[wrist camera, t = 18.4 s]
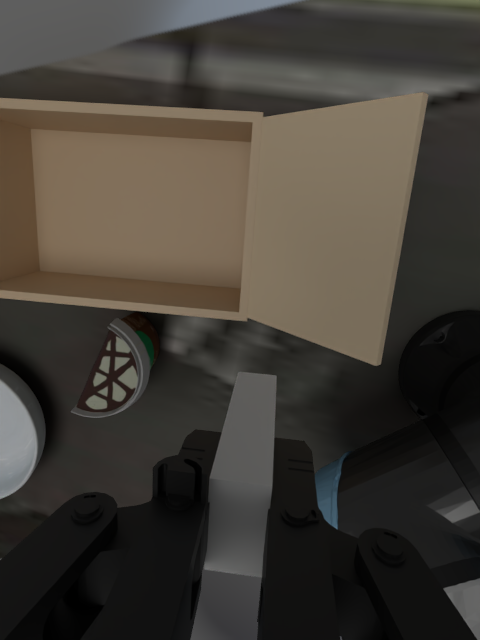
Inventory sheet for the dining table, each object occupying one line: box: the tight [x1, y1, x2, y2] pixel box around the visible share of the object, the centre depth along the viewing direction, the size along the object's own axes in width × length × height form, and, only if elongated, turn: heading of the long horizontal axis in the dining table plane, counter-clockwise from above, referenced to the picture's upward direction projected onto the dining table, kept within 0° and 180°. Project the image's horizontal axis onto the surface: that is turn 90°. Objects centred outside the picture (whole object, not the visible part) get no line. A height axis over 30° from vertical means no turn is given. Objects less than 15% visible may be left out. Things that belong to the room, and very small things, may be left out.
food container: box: [71, 311, 160, 418], centre depth 49 cm, size 12×6×10 cm, turn 153°
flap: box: [247, 92, 428, 366], centre depth 31 cm, size 17×14×1 cm
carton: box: [0, 98, 264, 321], centre depth 43 cm, size 18×28×12 cm, turn 86°
